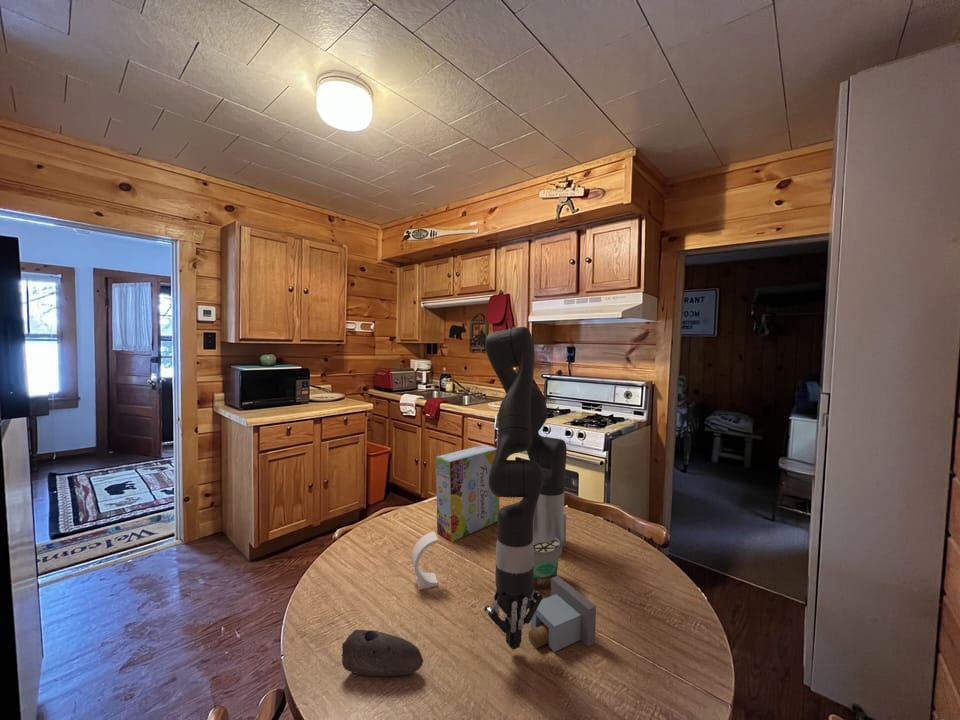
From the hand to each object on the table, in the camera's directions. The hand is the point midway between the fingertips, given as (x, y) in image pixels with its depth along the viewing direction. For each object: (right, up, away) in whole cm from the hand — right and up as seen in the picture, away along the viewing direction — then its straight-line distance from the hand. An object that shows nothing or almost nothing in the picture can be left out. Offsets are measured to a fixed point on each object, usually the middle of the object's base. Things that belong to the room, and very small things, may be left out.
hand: (513, 646), depth 79 cm
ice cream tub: (+10, -1, +23) cm, 25 cm away
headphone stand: (-21, -1, +23) cm, 31 cm away
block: (+9, -2, +6) cm, 11 cm away
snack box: (-10, 0, +54) cm, 55 cm away
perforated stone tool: (-25, -2, -4) cm, 25 cm away
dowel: (+8, -2, +5) cm, 9 cm away
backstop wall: (+13, -2, +8) cm, 15 cm away
